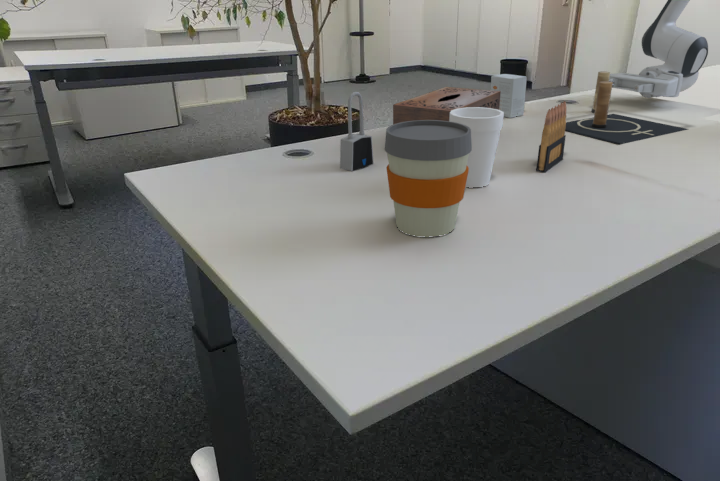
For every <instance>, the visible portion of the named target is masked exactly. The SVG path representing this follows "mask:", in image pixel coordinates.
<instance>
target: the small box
mask: <svg viewBox="0 0 720 481" xmlns="http://www.w3.org/2000/svg"><path fill="white" fill-rule="evenodd" d="M490 78H491V79H490V90H492V91H501V94H500V107H499V110H500V111H502V112H504V118H509V119H511V118H516V116H517V117H520V116H524V114H525V104H526V90H527V79H528V77H527V76H525V75H517V74H511V73H500V74H494V75H491V77H490Z"/></svg>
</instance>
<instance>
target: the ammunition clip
mask: <svg viewBox="0 0 720 481" xmlns="http://www.w3.org/2000/svg"><path fill="white" fill-rule="evenodd" d="M566 122H567V102H566V101H565V100H563V102H560V104H559V103H558V104H557V105H555V106H554V107H551V108H549V109H548V110H547V112H546V114H545V118H544V124H543V129H542V132H541V141H540V144H539V145H538V153H537V161H536V168H535V169H536V170H535V171H536V172H541V173H547V172H548V171H549V170H551V169H552V168H553V167H555V166H556V165H558V163H560V162H561V161H562V160H564V152H565V144H566V131H565V127H566Z"/></svg>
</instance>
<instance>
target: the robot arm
mask: <svg viewBox="0 0 720 481" xmlns="http://www.w3.org/2000/svg"><path fill="white" fill-rule="evenodd" d="M690 1H691V0H666V3H665V4H664V5H663V7H662V8H661V10H660V12H659V13H658V15H657V17H656V18H655V19H654V21H653V22H652V23H651V25H650V26H649V27H648V28H647V29H646V31H645V32H644V33H643V35H642V37H641V48H642V52H643V54H644V55H646V56H647V57H651V58H654V59H658V60H660V61H661V62H664V63H663V64H658V65H652V66H647V67H645V68H643V69H641V71H640V72H639V73H638V74H636V73H628V72H615V73H610V77H609V82H613V84H612V89H617V90H623V91H631V92H636V93H639V94H640V95H641V96H642V97H644V98H649V99H650V98H659V97H663V98H664V97H666V98H679V95H680V93H681V92H684V91H687V90H688V89H690V88H691V87H692V86H694V85H695V83H696V82H697V80H698V77H699V74H700V73H699V71H700V70H701V68H702V67H703V65H704V64H705V62H706V60H707V58H708V55H709V43H708V40H707V38H706V37H704V36H702V35H700V34H698V33H695V32H692V31H688V30H687V29H683V28H681V27H680V26H679V27H678V26H677V25H676V22H677V21H678V19H679V17H680V16H681V14H682V13H683V11H684V10H685V8H686V7H687V5H688V4H689V2H690Z"/></svg>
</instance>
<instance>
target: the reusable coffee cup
mask: <svg viewBox="0 0 720 481" xmlns="http://www.w3.org/2000/svg"><path fill="white" fill-rule="evenodd" d="M471 151H472V143H471V129H470V128H469V127H468V126H466V125H463V124H460V123H456V122H450V121H440V120H416V121H406V122H401V123H397V124H393V123H392V124H391V125H389V126H388V127H387V128H386V130H385V138H384V152H386V154H387V162H388V164H387V165H386V175H387V183H388V190H389V198H390V199H391V200H392V201H393V207H394V216H395V223H396V228H397V227H398V228H397V230H398V229H399V230H401V231H403V232H404V233H407V234H410V235H415V236H425V237H429V236H439V235H444V234H447V233H449V232H451V231H452V230H453V229H454V228H455V229H456V223H457V218H458V213H459V207H460V202H462V201H463V199H464V196H465V191H466V187H465V186H466V181H467V176H468V171H469V168H468V166H467V161H468V155H469V153H470V152H471ZM455 229H454V230H455ZM399 230H398V231H399ZM454 230H453V231H454ZM401 231H400V232H401ZM453 231H452V232H453ZM452 232H451V233H452ZM404 233H403V234H404ZM449 234H450V233H449ZM447 235H448V234H447ZM444 236H445V235H444Z"/></svg>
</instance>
